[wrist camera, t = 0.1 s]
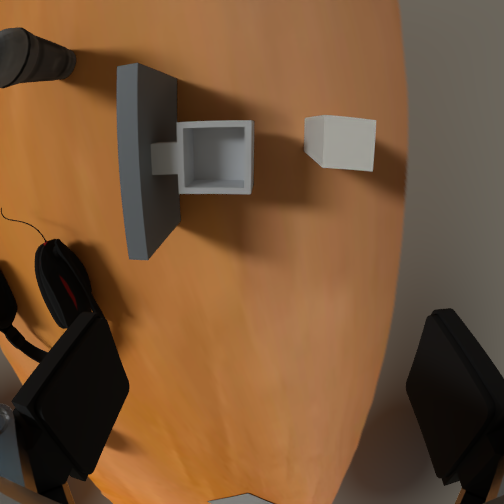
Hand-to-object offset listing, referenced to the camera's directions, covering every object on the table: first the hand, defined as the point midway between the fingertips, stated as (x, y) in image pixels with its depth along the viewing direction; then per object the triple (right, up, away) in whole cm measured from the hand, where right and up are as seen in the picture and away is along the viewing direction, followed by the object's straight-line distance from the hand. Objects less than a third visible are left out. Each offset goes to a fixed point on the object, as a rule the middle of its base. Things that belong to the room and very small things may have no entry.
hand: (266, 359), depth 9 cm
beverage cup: (-26, +29, +23) cm, 45 cm away
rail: (+8, +16, +26) cm, 32 cm away
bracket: (-8, +15, +28) cm, 33 cm away
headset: (-36, -2, +37) cm, 52 cm away
